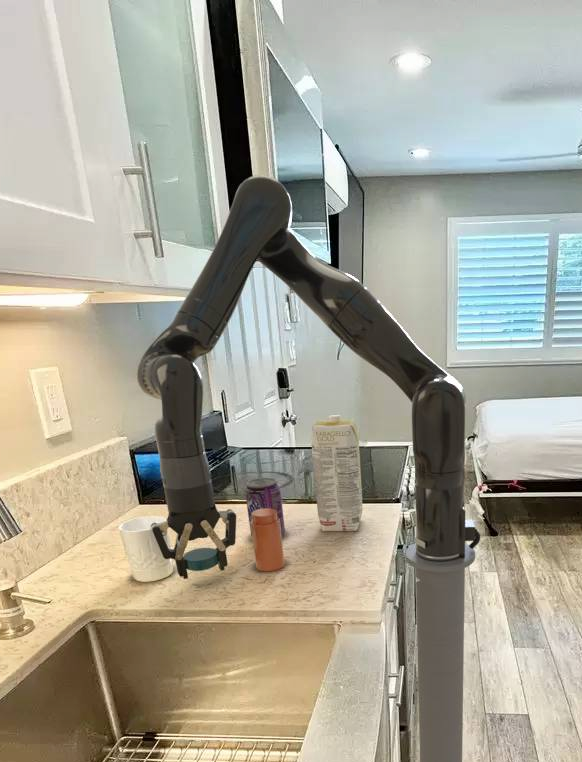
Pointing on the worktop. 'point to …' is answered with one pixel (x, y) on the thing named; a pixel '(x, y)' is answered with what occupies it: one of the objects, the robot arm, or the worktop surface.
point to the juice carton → (337, 474)
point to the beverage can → (264, 498)
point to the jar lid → (201, 559)
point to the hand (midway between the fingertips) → (203, 572)
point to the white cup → (145, 549)
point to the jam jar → (267, 539)
